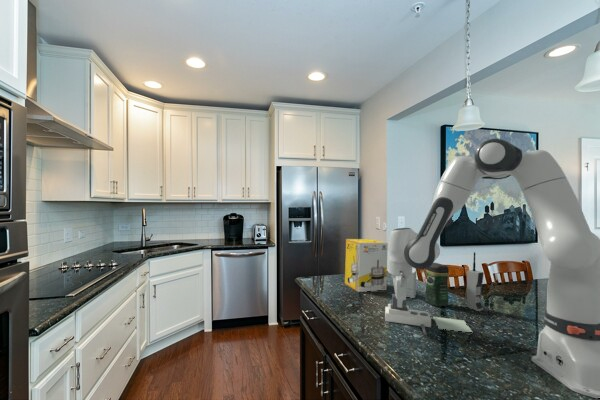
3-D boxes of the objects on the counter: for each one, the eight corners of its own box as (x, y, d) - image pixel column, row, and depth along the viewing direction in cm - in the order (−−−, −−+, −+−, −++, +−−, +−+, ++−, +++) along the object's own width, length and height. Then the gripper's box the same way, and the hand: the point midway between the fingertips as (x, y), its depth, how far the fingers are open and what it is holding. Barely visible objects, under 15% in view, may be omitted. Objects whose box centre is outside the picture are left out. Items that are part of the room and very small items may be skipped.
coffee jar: (451, 307, 129) (452, 265, 130) (436, 308, 127) (437, 265, 128) (436, 300, 139) (437, 261, 139) (422, 300, 137) (423, 261, 137)
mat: (472, 333, 102) (472, 332, 102) (438, 328, 105) (438, 327, 105) (464, 321, 112) (464, 320, 112) (433, 317, 115) (433, 316, 115)
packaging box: (358, 292, 147) (360, 242, 148) (344, 283, 163) (346, 239, 163) (386, 290, 152) (387, 242, 152) (370, 282, 167) (371, 239, 168)
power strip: (435, 337, 98) (435, 323, 98) (385, 330, 102) (386, 317, 102) (427, 319, 114) (427, 307, 114) (385, 313, 118) (385, 302, 118)
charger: (406, 314, 110) (406, 295, 110) (392, 312, 112) (392, 293, 112) (405, 310, 114) (405, 292, 114) (391, 308, 115) (392, 290, 116)
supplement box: (416, 295, 145) (417, 270, 145) (413, 299, 139) (414, 272, 139) (401, 292, 149) (401, 268, 149) (397, 296, 143) (398, 270, 143)
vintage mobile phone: (477, 312, 124) (478, 253, 124) (466, 308, 128) (467, 251, 129) (482, 310, 126) (484, 253, 126) (471, 307, 130) (472, 251, 131)
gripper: (411, 275, 102) (410, 315, 102) (406, 264, 122) (405, 297, 122) (392, 273, 104) (391, 312, 104) (390, 263, 124) (389, 296, 123)
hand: (399, 304), depth 113 cm, fingers closed on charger, 4 cm apart
